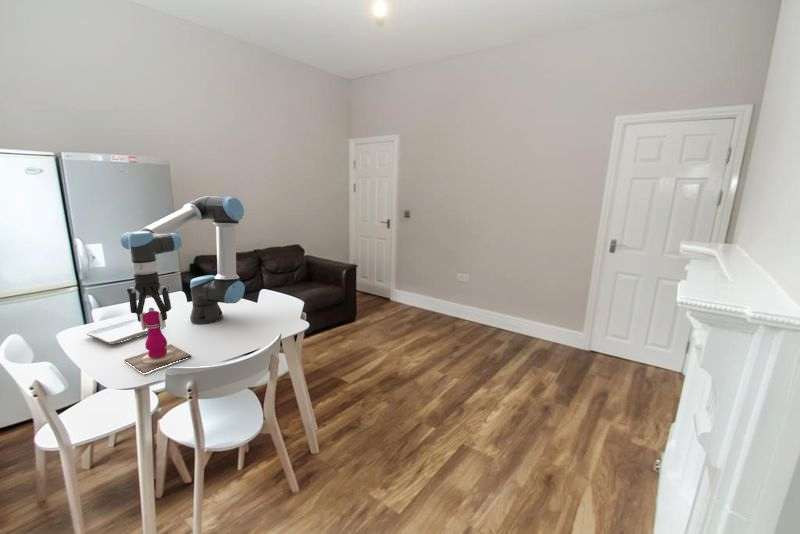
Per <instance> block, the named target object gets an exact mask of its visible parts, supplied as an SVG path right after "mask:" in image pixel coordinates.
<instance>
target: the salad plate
mask: <svg viewBox="0 0 800 534" xmlns="http://www.w3.org/2000/svg"><path fill="white" fill-rule="evenodd" d="M131 324H135V325H137V326H141V322H139V321H138V318H132V319H129V320H125V321H121V322H118V323H114V324H110V325H107V326H104V327H101V328H97V329H94V330H90V331H87V332H85V335H87V336H88V337H90V338H91V337H92V338H95V339H96V340H100V341H102V342H105V343H106V344H109V345H116V344H115V343H117V344H119V343H118V342H121V341H124V340H127V339H130V338H134V337H136V338H138V337H137V336H139V337H141V336H140V335H142V336H144V335H143V334H145V335H147V334H146V333H148V330H146V331H142V332H139V333H135V334H132V335H129V336H126V337H123V338H120V339H117V340H114V341H108V340H105V339H102V338H100V337H97V336H94V335H96V334H100V333H103V332H107V331H110V330H113V329H116V328H120V327H123V326H127V325H131ZM146 329H148V328H146ZM134 339H135V338H134ZM130 340H131V339H130ZM127 341H128V340H127ZM124 342H125V341H124ZM121 343H122V342H121Z"/></svg>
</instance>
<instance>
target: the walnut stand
mask: <svg viewBox="0 0 800 534" xmlns="http://www.w3.org/2000/svg"><path fill="white" fill-rule="evenodd" d="M165 348H167V353H166V354H165V355H163V356H161V357H157V358H150V357H149V356H148V351H145V352H142V353H139V354H137V355H134V356H131V357H128V358H125V359H124V362H125V361H126V362H128V363H129V364H131V365H132V366H134V367H135V368H136V369H138V370H139V371H141V372H142V373H146V372H149V371H151V370H154V369H156V368H159V367H162V366H165V365H168V364H170V363H173V362H176V361H179V360H183V359H186V358H189V359H191V358H192V356H191V353H188V352H186V351H185V350H182V349H181V348H178V347H177V346H175V345H173V344H171V343H169V344H167V345H166V347H165ZM190 357H191V358H190ZM186 360H187V359H186ZM183 361H184V360H183ZM136 369H135V370H136Z"/></svg>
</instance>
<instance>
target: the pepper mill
mask: <svg viewBox="0 0 800 534" xmlns="http://www.w3.org/2000/svg"><path fill="white" fill-rule="evenodd" d="M159 313H160V311H157V310H155V308H154V307H150V308H148V311H147V312H145V315H144V317H143V321H144V322H145V323H146V328H148V334H147V338H146V341H145V345H144V346H145V350H146V351H147V352H148V356H149V357H150V358H157V357H161V356H163V355H165V354H166V353H167V348H165V347H166V346H167V345H168V340H167V338H166V337H165V336H164V334H163V333H162V329H161V327H160V320H159Z"/></svg>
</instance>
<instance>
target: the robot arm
mask: <svg viewBox="0 0 800 534" xmlns="http://www.w3.org/2000/svg"><path fill="white" fill-rule="evenodd" d="M244 214H245V209H244V205H243V204H242V202H241V201H240V200H239V198H237V197H234V196H223V195H221V196H220V195H219V196H218V195H204V196H201V197H199V198H197V199H193V200H192V201H190V202H187V203H185V204H184V205H183V206H182V208H180V209H179V210H177V211H175V212H172V213H171V214H169V215H167V216H165V217H163V218H161V219H159V220H157V221H155V222H153V223H151V224H149V225H147V226H145V227H144V228H141V229H138V230H136V231H127V232H124V233H123V234H122V235H121V237H120V244H121V246H122V247H123V248H124V249H126V250H127V251H128V250H129V252H130V259H131V264H132V272H133V273H134V274H133V279H134V282H135V285H134V286H131V287H129V288H127V289H126V291H127V293H128V298H129V307H130V313H131V314H136V315H137V319H138V321H139V322H141V327H142V330H145V329H146V323H145V322H144V321H143V317H144V315H145V314H146V312H145V311H144V308H145V303H146V298H147V296H148V297H151V298H152V299H153V300H154V302H155V304H156V306H157V307H158V309H159V320H160V329H161V330H164V329H165V328H166V326H167V324H166V320H167V319H168V314H167V312H169V311H171V310H172V303H171V299H170V293H169V288H170V286H169V285H165V286H164V285H161V284H160V279H159V277H160V276H159V272H158V264H157V256H156V255H161V254H164V253H170V252H174V251H177V250H180V249H181V247H182V238H181V236H180V235H178V234H177V233H176V232H178V231H180V230H182V229H183V228H186V226H188V225H190V224H192V223H199V222H200V221H204V220H212V224H213V225H214V226H215V227H216V259H217V260H216V265H217V266H216V267H217V274H216V275H212V274H210V275H209V274H208V275H203V276H197V277H194V278H192V279H191V280H190V285H189V287H190V289H189V290H190V294H191V301H192V309H191V313H190V318H189V319H190V323H191V322H192V324H195V325H207V324H212V323H216V322H219V321H221V320H222V319H223V318H224V314H223V311H222V309H221V307H220V305H219V303H222V304H227V305H228V304H237V303H238V302H240V300H242V298H243V297H244V294H245V289H246V287H245V284H244V283H243V282H242V281H241V280H240V276H239V275H238V274H237V252H236V251H237V248H236V247H237V245H236V244H237V241H236V240H237V239H236V235H237V234H236V233H237V232H236V227H238V225H240V224H239V223H240V221H241V220H242V219H243V217H244ZM159 290H160V292H161V295H162V297H161V296H160V292H159ZM136 292H138V293H139V295H138V300H137V293H136ZM137 302H138V303H137Z"/></svg>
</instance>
